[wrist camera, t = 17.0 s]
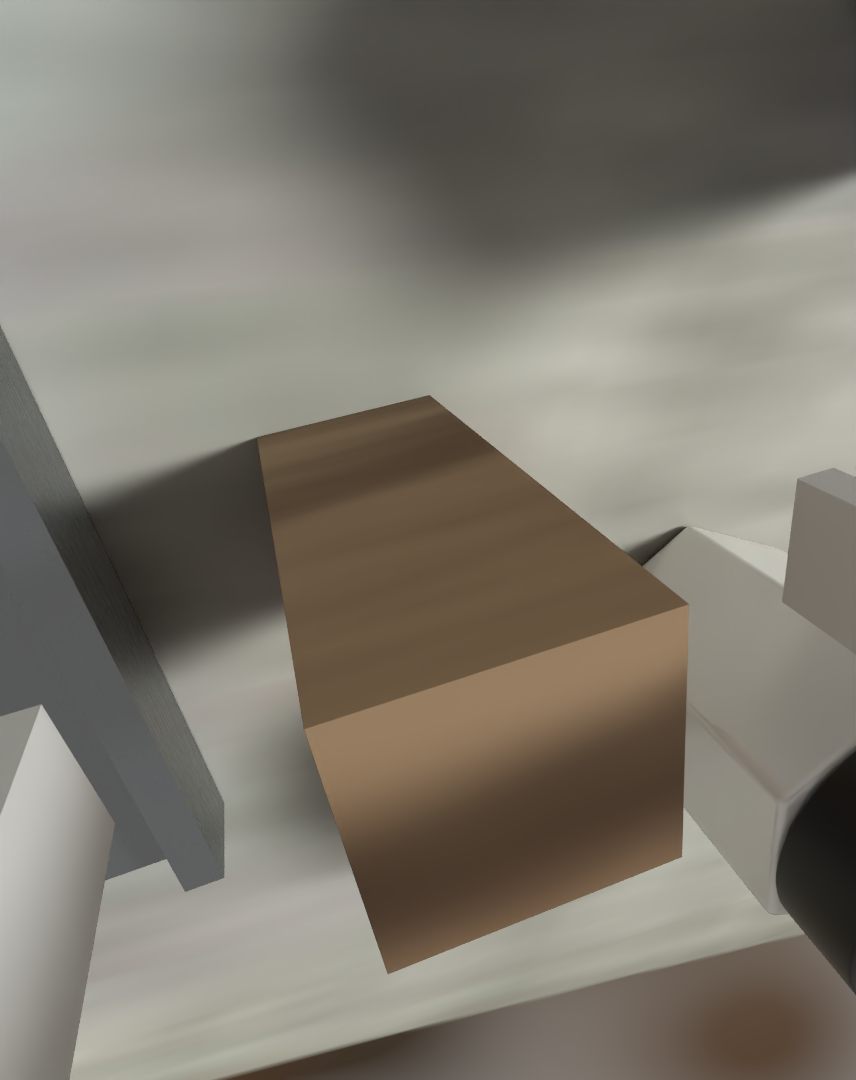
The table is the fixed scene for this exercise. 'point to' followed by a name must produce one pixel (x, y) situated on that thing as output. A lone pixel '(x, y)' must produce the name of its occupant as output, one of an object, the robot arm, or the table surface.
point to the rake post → (471, 676)
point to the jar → (769, 736)
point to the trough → (93, 658)
